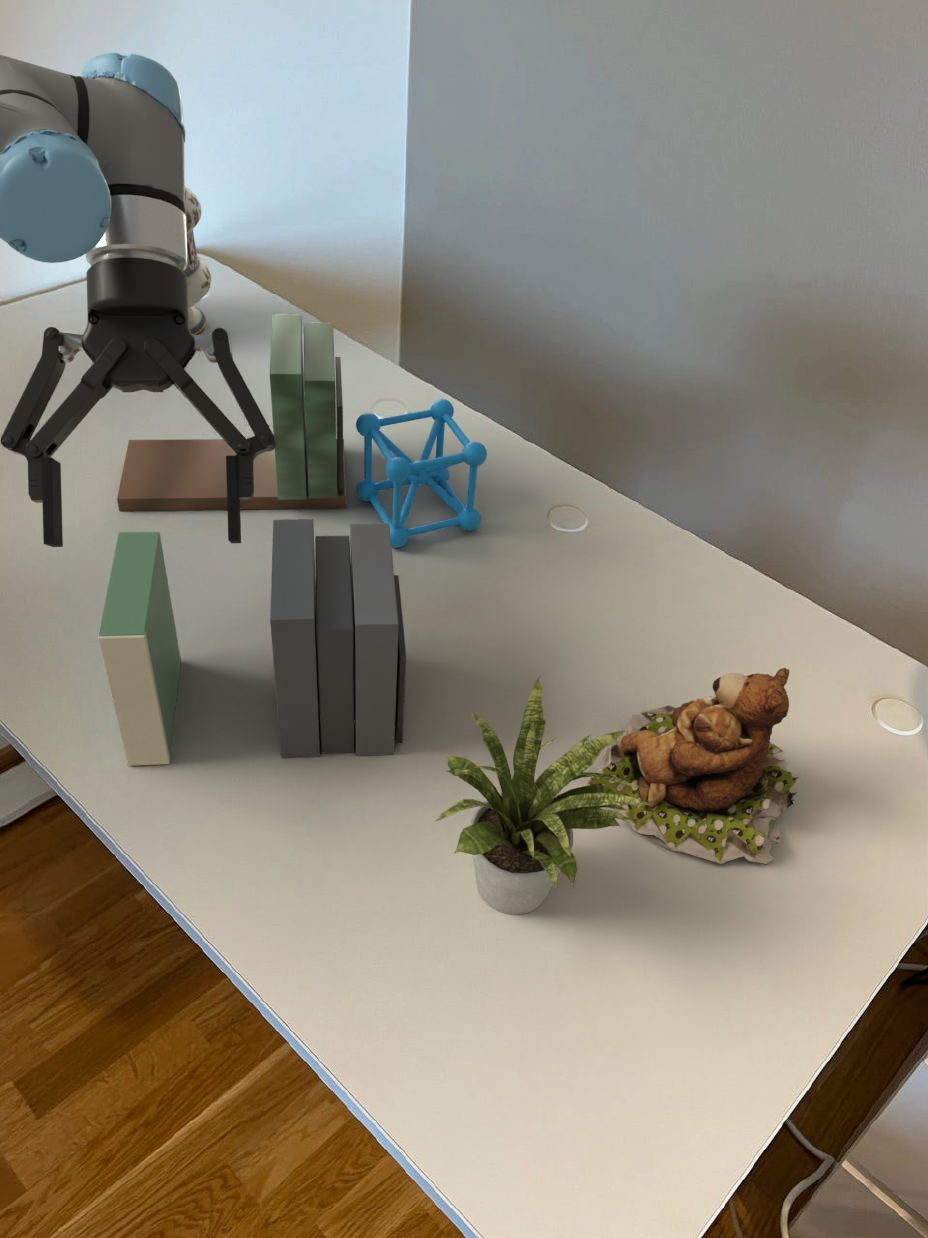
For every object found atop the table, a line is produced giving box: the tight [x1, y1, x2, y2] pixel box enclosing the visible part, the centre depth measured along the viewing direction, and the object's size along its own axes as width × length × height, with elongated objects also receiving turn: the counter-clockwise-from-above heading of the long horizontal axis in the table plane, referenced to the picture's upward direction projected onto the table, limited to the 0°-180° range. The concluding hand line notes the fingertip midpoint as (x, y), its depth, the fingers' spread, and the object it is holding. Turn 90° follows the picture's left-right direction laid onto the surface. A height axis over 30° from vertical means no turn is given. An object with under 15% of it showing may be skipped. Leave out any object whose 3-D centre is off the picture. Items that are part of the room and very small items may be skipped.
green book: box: [97, 531, 182, 767], centre depth 81 cm, size 3×11×14 cm, turn 6°
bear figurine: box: [587, 667, 799, 865], centre depth 80 cm, size 14×15×12 cm
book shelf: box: [116, 313, 348, 512], centre depth 103 cm, size 22×11×16 cm, turn 96°
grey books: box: [269, 518, 407, 759], centre depth 83 cm, size 10×11×15 cm
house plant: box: [433, 676, 653, 916], centre depth 70 cm, size 14×14×16 cm
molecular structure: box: [355, 398, 488, 549], centre depth 103 cm, size 10×10×10 cm
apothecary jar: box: [182, 186, 212, 335], centre depth 124 cm, size 12×12×18 cm
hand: (145, 544), depth 82 cm, fingers open, 13 cm apart
